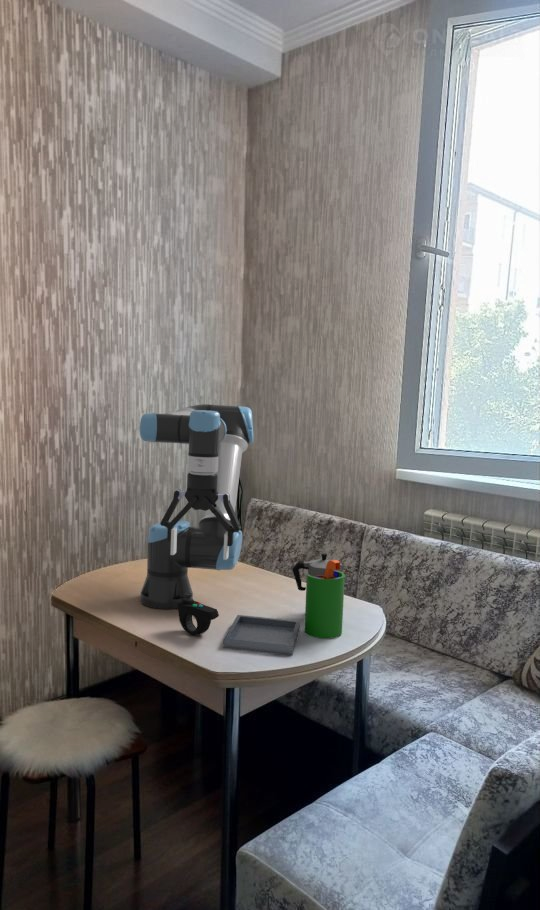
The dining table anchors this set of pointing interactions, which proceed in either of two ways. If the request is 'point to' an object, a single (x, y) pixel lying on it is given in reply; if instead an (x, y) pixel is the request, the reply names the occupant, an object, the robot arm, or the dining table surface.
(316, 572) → the coffeepot
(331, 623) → the green cylindrical container
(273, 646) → the tray
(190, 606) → the controller
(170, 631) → the dining table surface
